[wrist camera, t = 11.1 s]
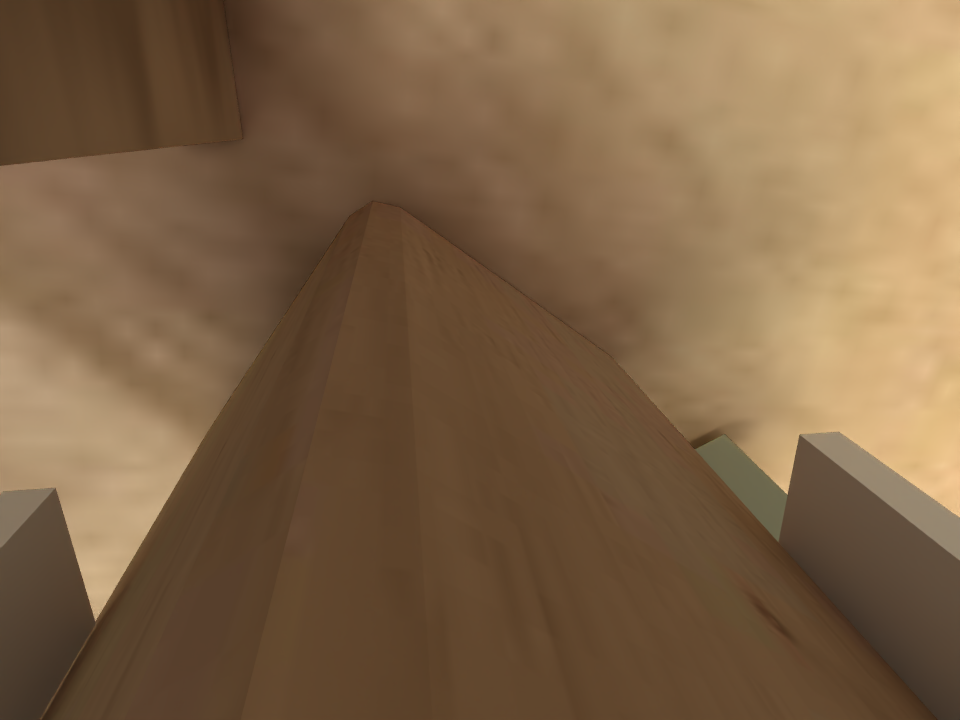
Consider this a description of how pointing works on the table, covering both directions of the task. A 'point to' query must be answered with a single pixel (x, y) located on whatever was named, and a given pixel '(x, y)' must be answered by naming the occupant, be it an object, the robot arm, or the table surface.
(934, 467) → the table surface
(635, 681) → the wooden block
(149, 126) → the wall frame
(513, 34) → the table surface
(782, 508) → the door
